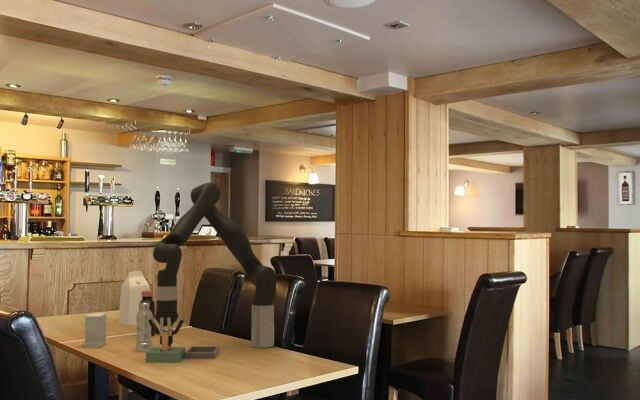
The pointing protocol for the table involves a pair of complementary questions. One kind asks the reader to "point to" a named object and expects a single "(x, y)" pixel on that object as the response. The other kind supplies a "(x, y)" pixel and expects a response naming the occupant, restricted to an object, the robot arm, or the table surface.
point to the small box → (95, 330)
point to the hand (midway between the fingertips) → (166, 345)
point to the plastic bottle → (143, 328)
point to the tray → (190, 355)
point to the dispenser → (165, 355)
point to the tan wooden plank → (165, 341)
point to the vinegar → (148, 298)
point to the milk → (131, 297)
